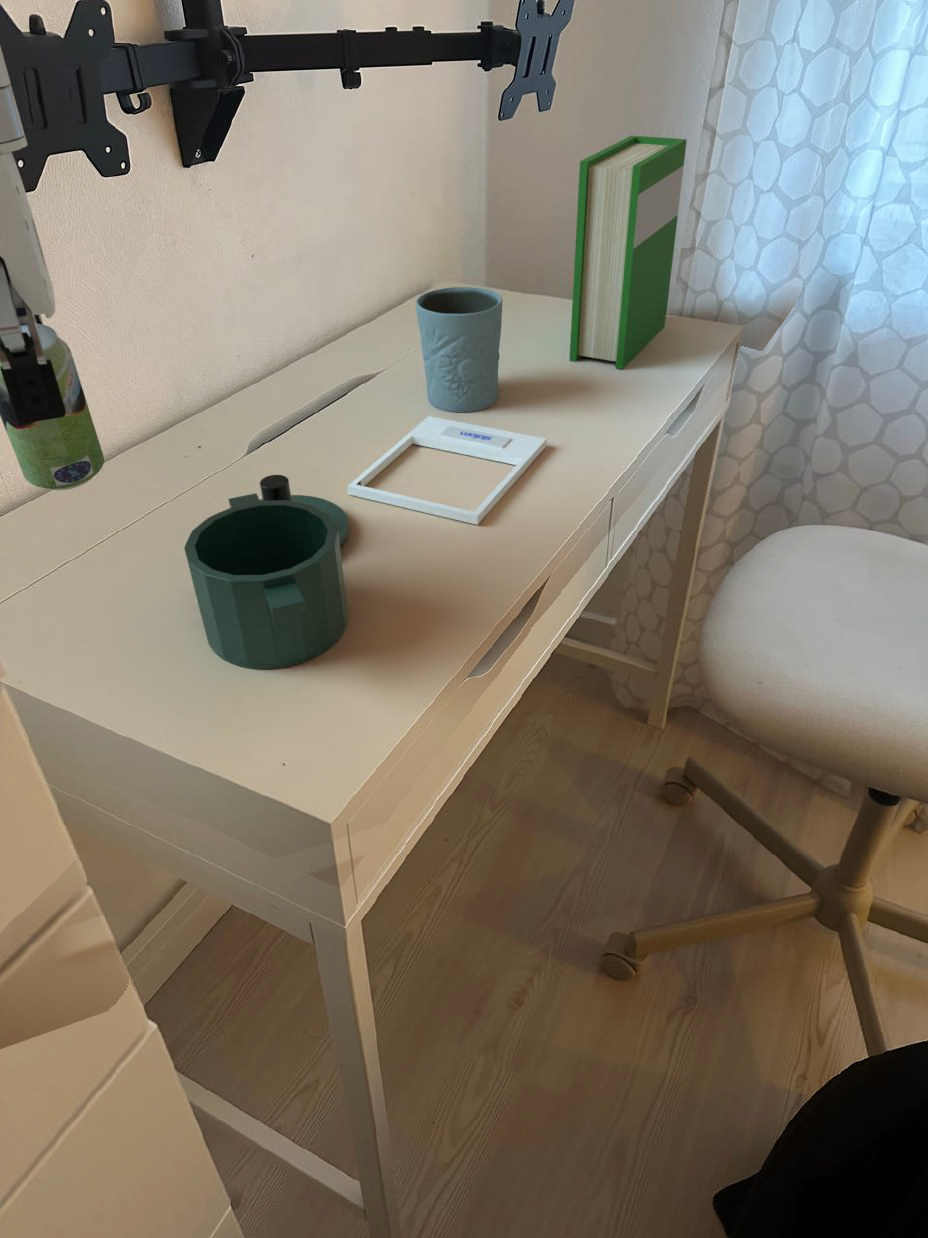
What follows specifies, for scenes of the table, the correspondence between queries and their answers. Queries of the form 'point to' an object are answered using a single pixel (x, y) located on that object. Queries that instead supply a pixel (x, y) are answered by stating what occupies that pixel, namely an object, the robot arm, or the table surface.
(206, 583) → the pot
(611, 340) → the hardback book
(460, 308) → the embossed blue cup
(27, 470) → the beverage can
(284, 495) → the lid
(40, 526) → the table surface
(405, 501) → the photo frame
